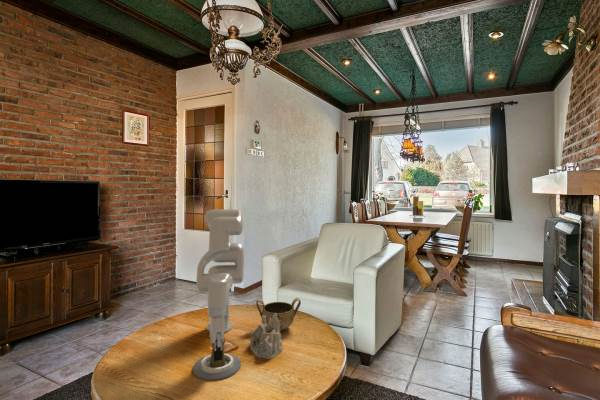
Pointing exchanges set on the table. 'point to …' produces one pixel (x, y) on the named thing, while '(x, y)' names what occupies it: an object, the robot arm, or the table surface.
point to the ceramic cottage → (267, 338)
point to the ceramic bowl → (279, 312)
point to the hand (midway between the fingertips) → (217, 355)
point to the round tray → (209, 373)
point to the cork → (220, 362)
